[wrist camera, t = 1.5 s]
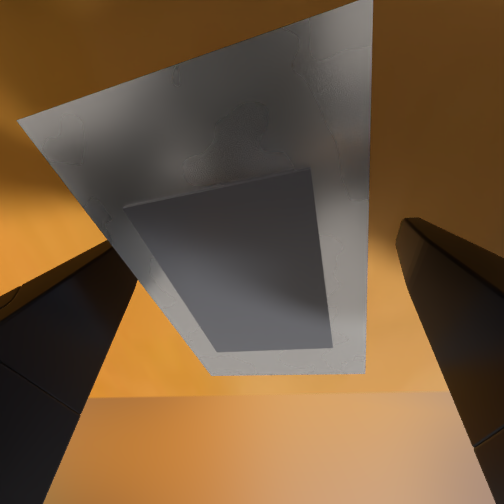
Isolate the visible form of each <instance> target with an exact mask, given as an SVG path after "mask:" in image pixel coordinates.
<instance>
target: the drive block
mask: <svg viewBox="0 0 504 504" xmlns="http://www.w3.org/2000/svg"><path fill="white" fill-rule="evenodd" d="M372 31H373V0H358V1H355V2H353V3H350V4H347V5H344V6H341V7H338V8H335V9H333V10H330V11H327V12H324V13H321V14H318V15H316V16H313V17H310V18H307V19H304V20H301V21H298V22H296V23H293V24H290V25H287V26H284V27H281V28H279V29H276V30H273V31H270V32H267V33H264V34H261V35H259V36H256V37H253V38H250V39H247V40H244V41H241V42H239V43H236V44H233V45H230V46H227V47H224V48H222V49H219V50H216V51H213V52H210V53H207V54H204V55H202V56H199V57H196V58H193V59H190V60H187V61H184V62H182V63H179V64H176V65H173V66H170V67H167V68H165V69H162V70H159V71H156V72H153V73H150V74H147V75H145V76H142V77H139V78H136V79H133V80H130V81H128V82H125V83H122V84H119V85H116V86H113V87H110V88H108V89H105V90H102V91H99V92H96V93H93V94H90V95H88V96H85V97H82V98H79V99H76V100H73V101H71V102H68V103H65V104H62V105H59V106H56V107H53V108H51V109H48V110H45V111H42V112H39V113H36V114H34V115H31V116H28V117H25V118H22V119H19V120H16V121H17V122H18V123H19V124H20V126H21V127H22V128H23V130H24V131H25V132H26V134H27V135H28V136H29V138H30V139H31V140H32V141H33V143H34V144H35V145H36V147H37V148H38V149H39V151H40V152H41V153H42V155H43V156H44V157H45V158H46V160H47V161H48V162H49V164H50V165H51V166H52V168H53V169H54V170H55V172H56V173H57V174H58V176H59V177H60V178H61V179H62V181H63V182H64V183H65V185H66V186H67V187H68V189H69V190H70V191H71V193H72V194H73V195H74V196H75V198H76V199H77V200H78V202H79V203H80V204H81V206H82V207H83V208H84V210H85V211H86V212H87V213H88V215H89V216H90V217H91V219H92V220H93V221H94V223H95V224H96V225H97V227H98V228H99V229H100V230H101V232H102V233H103V234H104V236H105V237H106V238H107V240H108V241H109V242H110V244H111V245H112V246H113V248H114V249H115V250H116V251H117V253H118V254H119V255H120V257H121V258H122V259H123V261H124V262H125V263H126V265H127V266H128V267H129V268H130V270H131V271H132V272H133V274H134V275H135V276H136V278H137V279H138V280H139V282H140V283H141V284H142V285H143V287H144V288H145V289H146V291H147V292H148V293H149V295H150V296H151V297H152V299H153V300H154V301H155V302H156V304H157V305H158V306H159V308H160V309H161V310H162V312H163V313H164V314H165V316H166V317H167V318H168V320H169V321H170V322H171V323H172V325H173V326H174V327H175V329H176V330H177V331H178V333H179V334H180V335H181V337H182V338H183V339H184V340H185V342H186V343H187V344H188V346H189V347H190V348H191V350H192V351H193V352H194V354H195V355H196V356H197V357H198V359H199V360H200V361H201V363H202V364H203V365H204V367H205V368H206V369H207V371H208V372H209V373H210V375H211V376H234V375H309V374H365V363H366V316H367V268H368V221H369V173H370V126H371V78H372Z"/></svg>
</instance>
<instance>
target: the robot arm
mask: <svg viewBox="0 0 504 504" xmlns="http://www.w3.org/2000/svg"><path fill="white" fill-rule="evenodd" d="M396 249H397V252H398V256H399V260H400V264H401V268H402V271H403V275H404V279H405V282H406V286H407V289H408V291H409V294H410V296H411V299H412V301H413V304H414V306H415V308H416V311H417V313H418V316H419V318H420V321H421V323H422V325H423V328H424V330H425V333H426V335H427V337H428V340H429V342H430V345H431V347H432V350H433V352H434V354H435V357H436V359H437V362H438V364H439V367H440V369H441V371H442V374H443V376H444V379H445V381H446V383H447V386H448V388H449V391H450V393H451V396H452V398H453V400H454V403H455V405H456V408H457V410H458V412H459V415H460V417H461V420H462V421H463V425H464V427H465V429H466V432H467V434H468V436H469V439H470V441H471V444H472V446H473V447H474V452H475V454H476V457H477V459H478V461H479V464H480V466H481V469H482V471H483V473H484V476H485V478H486V481H487V483H488V485H489V488H490V490H491V493H492V495H493V497H494V500H495V503H496V504H504V258H502V257H500V256H498V255H496V254H494V253H492V252H490V251H488V250H486V249H484V248H481V247H479V246H477V245H475V244H473V243H471V242H469V241H467V240H465V239H463V238H460V237H458V236H456V235H454V234H452V233H450V232H448V231H446V230H444V229H442V228H440V227H437V226H435V225H433V224H431V223H429V222H427V221H425V220H423V219H421V218H418V217H414V218H404V219H403V220H402V221H401V224H400V228H399V231H398V235H397V238H396ZM137 280H138V279H137V278H136V276H135V275H134V274H133V272H132V271H131V270H130V268H129V267H128V266H127V265H126V263H125V262H124V261H123V259H122V258H121V257H120V255H119V254H118V253H117V251H116V250H115V249H114V248H113V246H112V245H111V244H110V242H109V241H108V240H106V241H104V242H102V243H101V244H99V245H97V246H95V247H93V248H91V249H89V250H87V251H85V252H84V253H82V254H80V255H78V256H76V257H74V258H72V259H70V260H68V261H66V262H65V263H63V264H61V265H59V266H57V267H55V268H53V269H51V270H49V271H47V272H46V273H44V274H42V275H40V276H38V277H36V278H34V279H32V280H30V281H28V282H27V283H25V284H23V285H22V286H19V287H17V288H15V289H13V290H11V291H9V292H8V293H6V294H4V295H2V296H0V504H43V502H44V500H45V498H46V495H47V492H48V491H49V488H50V486H51V484H52V481H53V479H54V476H55V474H56V472H57V470H58V467H59V465H60V463H61V460H62V458H63V455H64V453H65V451H66V449H67V446H68V444H69V442H70V439H71V437H72V434H73V432H74V430H75V427H76V425H77V423H78V421H79V418H80V414H81V413H82V411H83V408H84V406H85V404H86V401H87V399H88V397H89V395H90V392H91V390H92V388H93V385H94V383H95V381H96V378H97V376H98V374H99V371H100V369H101V367H102V364H103V362H104V360H105V357H106V355H107V353H108V350H109V348H110V346H111V343H112V341H113V339H114V336H115V334H116V332H117V329H118V327H119V325H120V322H121V320H122V318H123V315H124V313H125V311H126V308H127V306H128V304H129V301H130V299H131V297H132V294H133V292H134V289H135V286H136V283H137Z"/></svg>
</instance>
